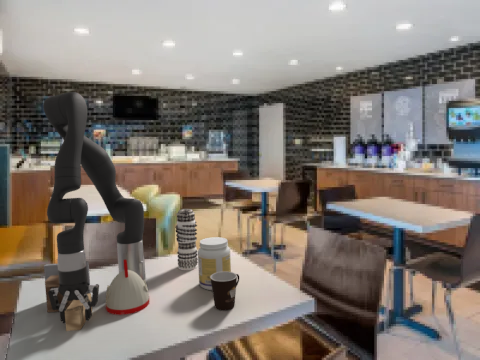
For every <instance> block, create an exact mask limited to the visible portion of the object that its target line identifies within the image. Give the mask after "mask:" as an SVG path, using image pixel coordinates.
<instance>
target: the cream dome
mask: <svg viewBox="0 0 480 360" xmlns="http://www.w3.org/2000/svg"><path fill="white" fill-rule="evenodd" d="M105 293H106V294H105V310H106V312H107V313H109V314H112V315H116V316H117V315H120V316H122V315H124V316H125V315H131V314H135V313H138V312H140V311H142V310H145V309H146V308H147V307H148V306H149V305H150V294H149V289H148V285H147V280H146V281H145V280H142V279H141V277H140V276H139V275H138V274H137V273H135V272H133V271H131V270H128V267H127V260H124V271H122V272H120V273H119V272H118V273H117V274H116V275H115V277H114V278H113V279H112V281H111V283H110V284H109V285H107V287H106V292H105Z"/></svg>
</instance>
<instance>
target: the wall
mask: <svg viewBox="0 0 480 360" xmlns="http://www.w3.org/2000/svg"><path fill="white" fill-rule="evenodd" d="M57 264H58V263H47V264H44V265H43V270H44V280H45V281H46V280H47V279H48V278H49V277H50V276H53V275H59V274H58V267H57ZM86 267H87V281H88V283H89V285H91V279H90V266H89V261H87V260H86ZM45 281H44V282H45ZM86 293H87V294H89V293H91V292H90V289H88V290H87V292H86ZM91 294H92V293H91Z"/></svg>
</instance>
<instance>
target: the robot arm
mask: <svg viewBox="0 0 480 360" xmlns="http://www.w3.org/2000/svg"><path fill="white" fill-rule="evenodd" d="M42 104H43V106H42V107H43V112H44V115H45V117H46V118H47V120H48V122H49V123H50V125H51V126H52V127H53V128H54V129H55V131H56V132H57V133H58V134H59V136H60V137H61V139H62V140H63V142H62V144H61V145H60V148H59V150H58V152H57V155H56V158H55V160H54V161H55V162H54V169H53V170H54V175H53V176H54V180H53V181H54V182H53V188H52V193H51V196H50V200H49V202H48V205H47V209H46V215H47V218H48V220H49V222H51V223H53V224H55V225H56V224H70V223H74V226H73V227H72V228H70V229H65V230H61V231H59V233H57V235H56V247H57V263H56V264H57V267H58V274H59V288H51V289H50V290H49V292H48V295H49V299H50V302H51V306H52V309H53V310H59V311H58V312H59V319H60V322H62V324H66V322H65V311H66V309H67V308H66V305H67V302H68V301H72V300H80V302H81V303H82V304H83V305H84V307H85V308H86V309H85V320H86V322H88V321H89V320H90V319H91V318H92V317H93V315H92V314H93V309H92V310H91V307H92V308H93V307H96V305H97V303H98V301H99V291H100V285H99V283H96V284H95V285H93V284H90V285H89V283H88V281H87V267H86V261H87V257H86V252H85V240H84V233H85V232H84V231H85V224H86V222H87V221H86V220H87V217H88V212H89V205H88V203H87V200H85V199H84V198H82V197H68V198H64V196H65V195H66V194H68V193H71V192H75V191H77V190H79V189H81V186H82V173H81V172H82V169H83V170H84V172H85V173H86V175H87V177H88V178H89V179H90V181H91V183H92V184H93V186H94V188H95V189H96V190H97V192H98V193H99V195H100V197H101V199H102V202H104V206H105V207H106V209H107V211H108V213H109V215H110V217H111V219H112V220H114V221H115V222H117V223H121V224H124V230H123V231H121V232H119V233H118V234H117V235H116V247H117V249H116V251H117V264H118V265H117V269H118V274H119V273H120V272H122V271H124V260H127V267H128V270H131V271H133V272H135V273H137V274H138V275H139V276H140V277H141V279H142V280H145V281H146V282H147V280H146V279H147V278H146V261H145V260H146V259H145V256H144V245H143V242H144V241H143V235H144V231H145V208H144V205H143V202H142V201H141V200H139V199H138V198H129V197H127V198H126V197H124V196H123V195H122V194H121V192H120V190H119V189H118V187H117V183H116V177H117V176H116V175H117V171H116V167H115V164H114V162H113V161H112V159H111V157H110V155H109V154H108V152H107V151H106V149H104V148H103V147H102V146H101V145H99V144H98V143H96V142H95V141H94V140H92V139H90V138H88V137H87V136H86V135H85V133H86V126H87V120H88V106H87V102H86V100H85V98H84V97H83V96H82V95H81V94H80V93H78V92H76V91H69V92H64V93H61V94H55V95H53V96H50V97H47V98H46V99H45V100H44V101H43V103H42ZM88 289H90V292H91V300H92V301H90V300H89V297H88V295H87V293H86V292H87V290H88ZM58 292H59V293H60V294H61V295H62V296H63V300H62V302H61V304H59V301H58V297H57V294H58Z"/></svg>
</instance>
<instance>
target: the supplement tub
mask: <svg viewBox="0 0 480 360" xmlns="http://www.w3.org/2000/svg"><path fill="white" fill-rule="evenodd" d="M197 259H198V260H197V262H198V263H197V265H198V267H197V268H198V283H199V286H200V287H201V288H202V289H205V290H208V291H212V285H211V278H210V276H211V275H212V274H214V273H217V272H232V266H231V265H232V264H231V260H232V259H231V248H230V247H229V243H228V239H227V238H225V237H221V236H220V237H218V236H217V237H216V236H213V237H206V238H203V239H200V240H199V248H198V250H197Z"/></svg>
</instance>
